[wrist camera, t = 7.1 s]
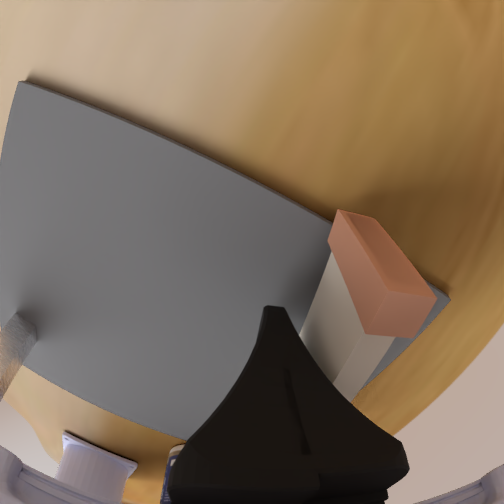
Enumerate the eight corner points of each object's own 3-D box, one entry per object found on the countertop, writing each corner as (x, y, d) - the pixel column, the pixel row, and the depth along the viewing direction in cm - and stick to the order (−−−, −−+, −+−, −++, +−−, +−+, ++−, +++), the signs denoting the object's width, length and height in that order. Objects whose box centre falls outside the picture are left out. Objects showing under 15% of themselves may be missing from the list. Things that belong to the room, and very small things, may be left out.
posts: (267, 431, 18) (267, 510, 13) (20, 326, 14) (-26, 395, 9) (283, 418, 17) (287, 504, 12) (19, 305, 13) (-35, 378, 8)
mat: (263, 455, 20) (263, 459, 20) (8, 349, 16) (5, 353, 15) (447, 295, 12) (450, 299, 12) (24, 80, 8) (18, 81, 8)
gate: (278, 422, 16) (281, 491, 12) (255, 420, 16) (254, 490, 12) (374, 218, 10) (437, 298, 6) (337, 208, 10) (388, 290, 6)
